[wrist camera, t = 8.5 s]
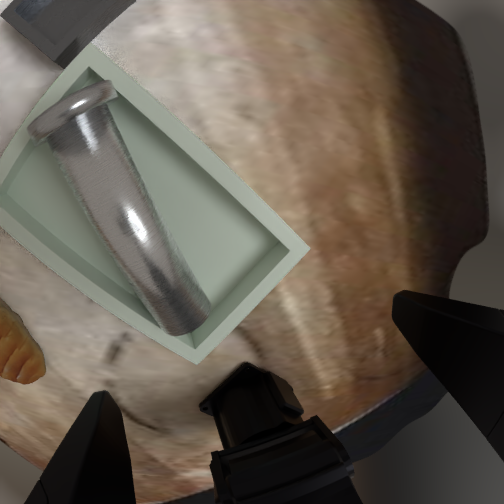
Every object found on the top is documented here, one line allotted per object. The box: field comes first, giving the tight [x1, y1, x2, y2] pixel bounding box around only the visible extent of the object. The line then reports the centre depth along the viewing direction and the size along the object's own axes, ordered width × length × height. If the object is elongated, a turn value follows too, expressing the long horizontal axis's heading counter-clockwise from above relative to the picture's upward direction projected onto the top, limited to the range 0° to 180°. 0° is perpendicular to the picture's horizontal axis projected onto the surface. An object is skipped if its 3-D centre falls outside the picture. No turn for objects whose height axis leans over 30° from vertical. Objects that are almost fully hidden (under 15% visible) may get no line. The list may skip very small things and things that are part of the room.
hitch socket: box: [0, 0, 136, 69], centre depth 11 cm, size 6×6×2 cm
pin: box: [27, 80, 211, 336], centre depth 16 cm, size 5×5×14 cm
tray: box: [0, 42, 310, 365], centre depth 17 cm, size 11×18×2 cm, turn 44°
